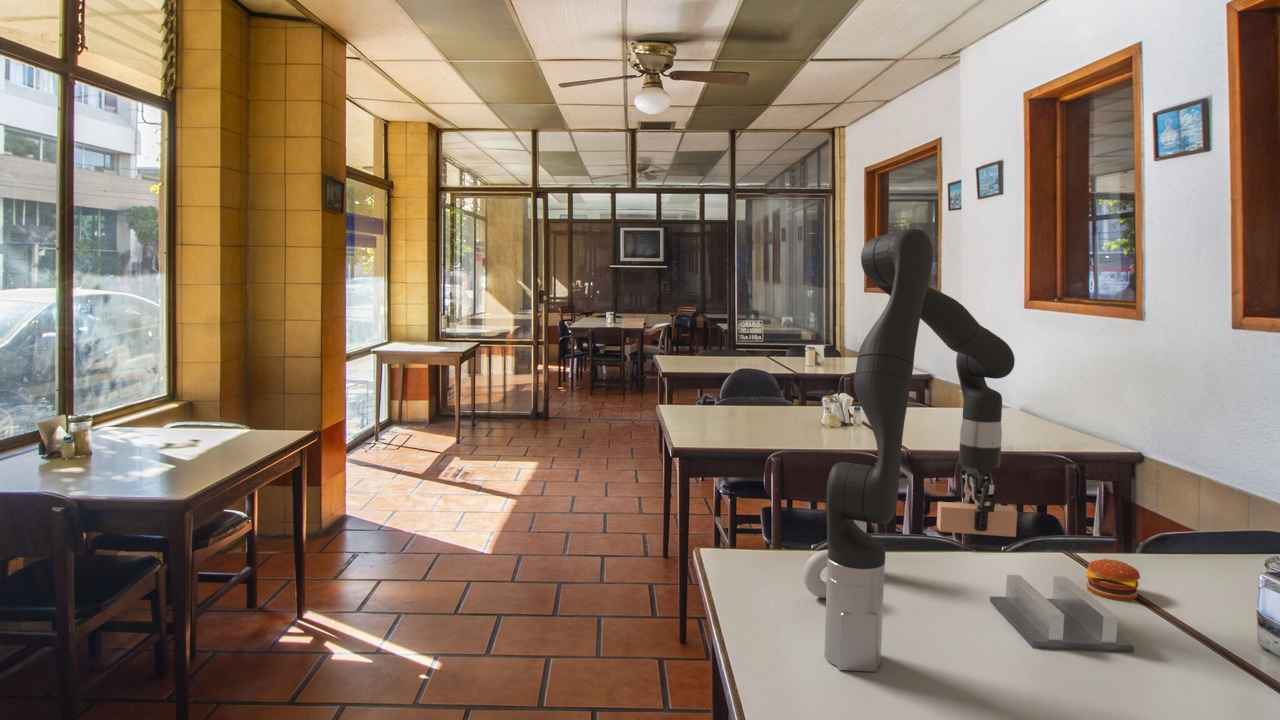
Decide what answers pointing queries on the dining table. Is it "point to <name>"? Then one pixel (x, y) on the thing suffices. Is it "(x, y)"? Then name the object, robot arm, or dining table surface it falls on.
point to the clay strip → (963, 519)
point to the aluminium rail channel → (1060, 617)
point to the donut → (816, 573)
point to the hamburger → (1112, 580)
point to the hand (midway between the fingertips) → (975, 526)
